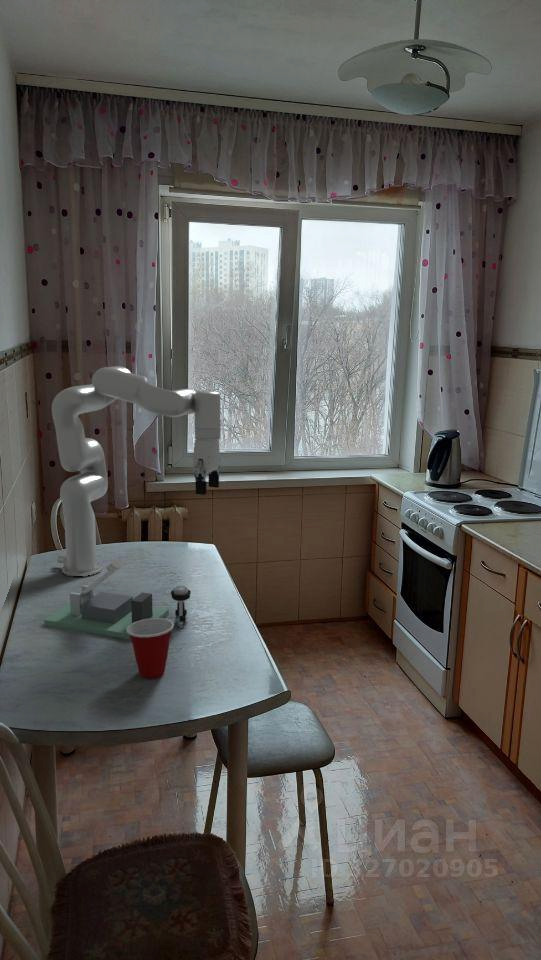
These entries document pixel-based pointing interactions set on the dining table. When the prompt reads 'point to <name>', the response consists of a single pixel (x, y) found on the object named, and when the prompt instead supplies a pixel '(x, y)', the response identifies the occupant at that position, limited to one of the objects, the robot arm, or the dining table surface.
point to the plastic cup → (151, 645)
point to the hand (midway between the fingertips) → (207, 490)
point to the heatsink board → (94, 625)
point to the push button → (180, 604)
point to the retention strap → (111, 570)
